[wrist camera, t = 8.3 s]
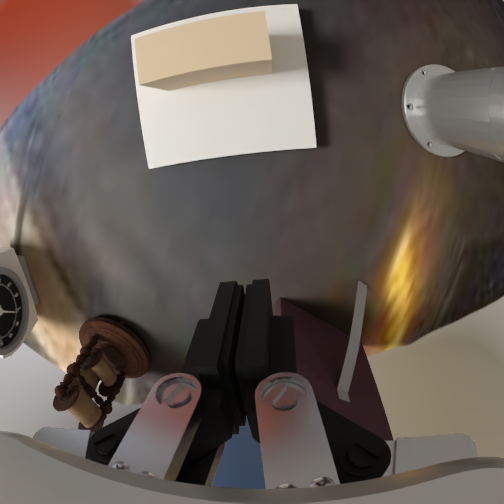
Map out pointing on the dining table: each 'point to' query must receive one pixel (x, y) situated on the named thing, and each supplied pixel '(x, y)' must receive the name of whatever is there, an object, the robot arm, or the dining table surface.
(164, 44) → the carton
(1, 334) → the alarm clock
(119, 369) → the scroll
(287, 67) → the display podium
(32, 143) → the dining table surface
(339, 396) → the picture frame
